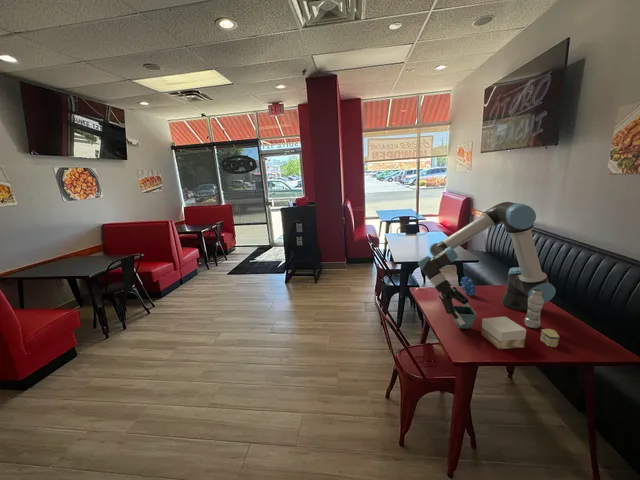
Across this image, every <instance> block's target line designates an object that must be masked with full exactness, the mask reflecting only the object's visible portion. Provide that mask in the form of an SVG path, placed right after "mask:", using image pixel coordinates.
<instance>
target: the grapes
mask: <svg viewBox="0 0 640 480" xmlns="http://www.w3.org/2000/svg"><path fill="white" fill-rule="evenodd" d="M460 285H461V291H464V294H465V295H467V296H468V295H469V296H470V297H472V296H474V295H475V294H476V290H475V289H476V285H475V284H474V280H473V279H472V278H470V277H468V276H465V277H464V276H463V277H461V281H460Z"/></svg>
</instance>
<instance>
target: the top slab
mask: <svg viewBox="0 0 640 480" xmlns="http://www.w3.org/2000/svg"><path fill="white" fill-rule="evenodd" d="M482 328H484V329H485V330H486V331H488V332H489V333H490V334H492V335H493V336H494V337H495V338H497V339H498V340H499V341H509V340H518V339H525V340H526V337H527V329H526V328H525V327H523V326H522V325H520V324H518V323H516V322H515V321H513V319H512V320H511V318H508V317H507V316H496V317H488V318H487V317H484V318H482V321H481V329H482Z"/></svg>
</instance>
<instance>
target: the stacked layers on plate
mask: <svg viewBox="0 0 640 480" xmlns="http://www.w3.org/2000/svg"><path fill="white" fill-rule="evenodd" d="M540 334H541V335H540V338H539V339H540V341H541V342H542V343H544V344H545V345H546V346H547V347H548V346H550V347H551V348H557V347H558V345H559V342H558V341H560V335H559V334H558V332H557V331H556V330H555V329H552V328H543V329H541V332H540Z"/></svg>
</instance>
